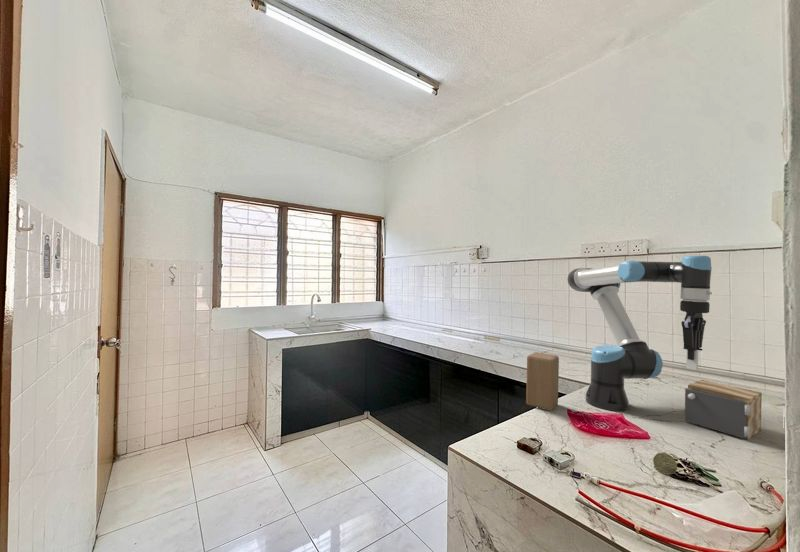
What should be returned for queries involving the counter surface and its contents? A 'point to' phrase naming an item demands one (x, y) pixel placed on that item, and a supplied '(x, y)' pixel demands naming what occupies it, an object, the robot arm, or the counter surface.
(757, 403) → the box
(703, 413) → the door
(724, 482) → the counter surface
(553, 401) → the wooden block
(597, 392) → the robot arm
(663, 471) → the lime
